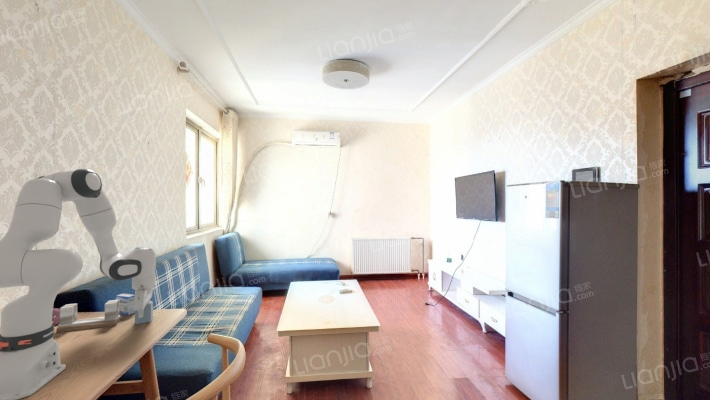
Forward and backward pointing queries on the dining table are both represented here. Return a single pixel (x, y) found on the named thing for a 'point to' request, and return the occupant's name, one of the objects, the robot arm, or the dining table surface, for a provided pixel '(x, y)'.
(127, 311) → the medicine box
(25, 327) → the robot arm
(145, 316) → the module block
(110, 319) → the rail mount
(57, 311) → the video game controller
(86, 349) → the dining table surface
